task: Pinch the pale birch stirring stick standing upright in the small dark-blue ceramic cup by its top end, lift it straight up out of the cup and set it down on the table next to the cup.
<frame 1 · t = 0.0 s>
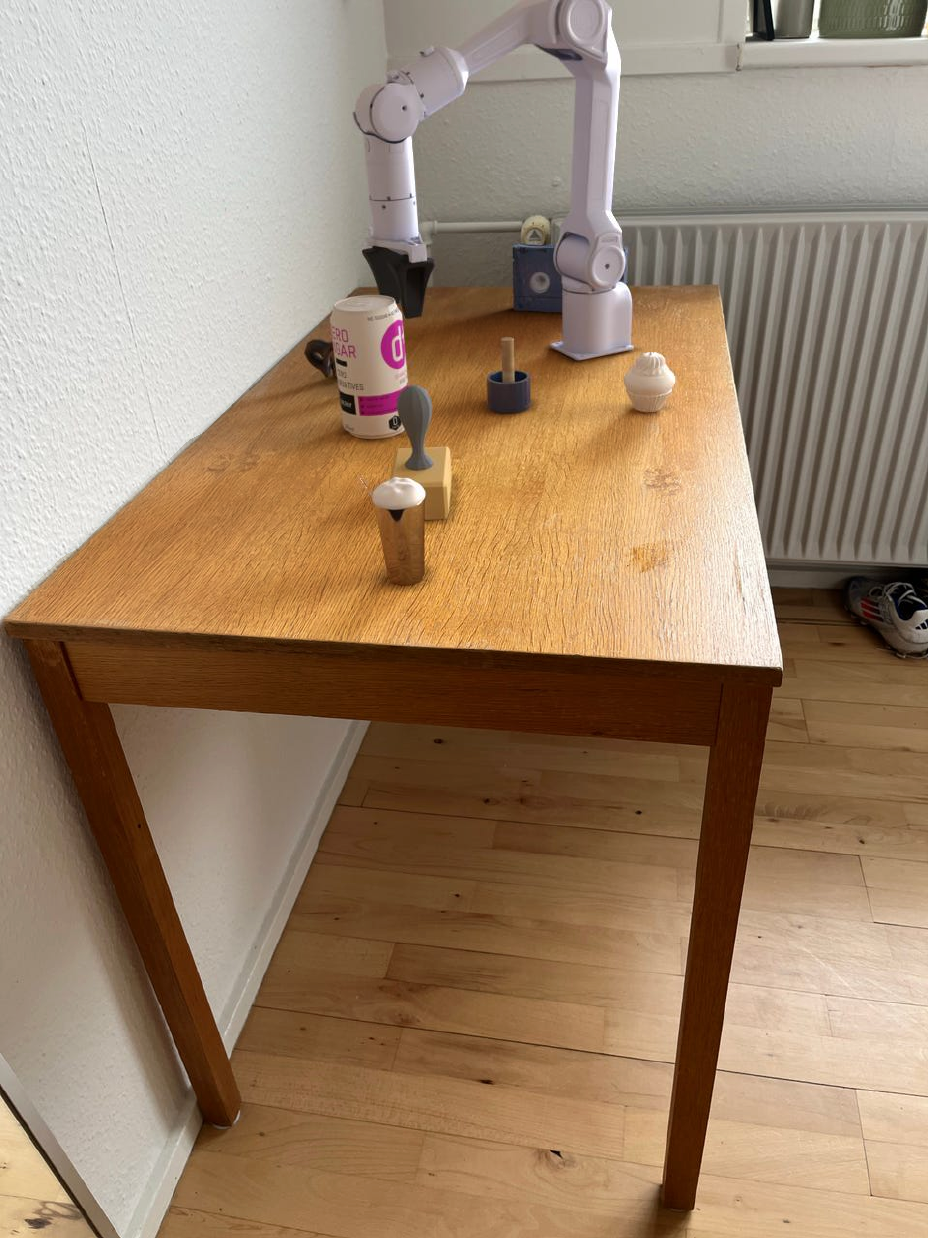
hand: (402, 310, 123), 10 cm above the table, tool pointing down, fingers open, 7 cm apart
vhs cassette tape: (568, 311, 156), on the table
rubber stamp: (422, 499, 99), on the table
muffin: (647, 409, 117), on the table
milkshake: (402, 578, 86), on the table
stirrer: (508, 371, 118), in the cup
cup: (509, 405, 120), on the table, touching stirrer
supplement can: (378, 429, 116), on the table
pottery mug: (351, 383, 131), on the table
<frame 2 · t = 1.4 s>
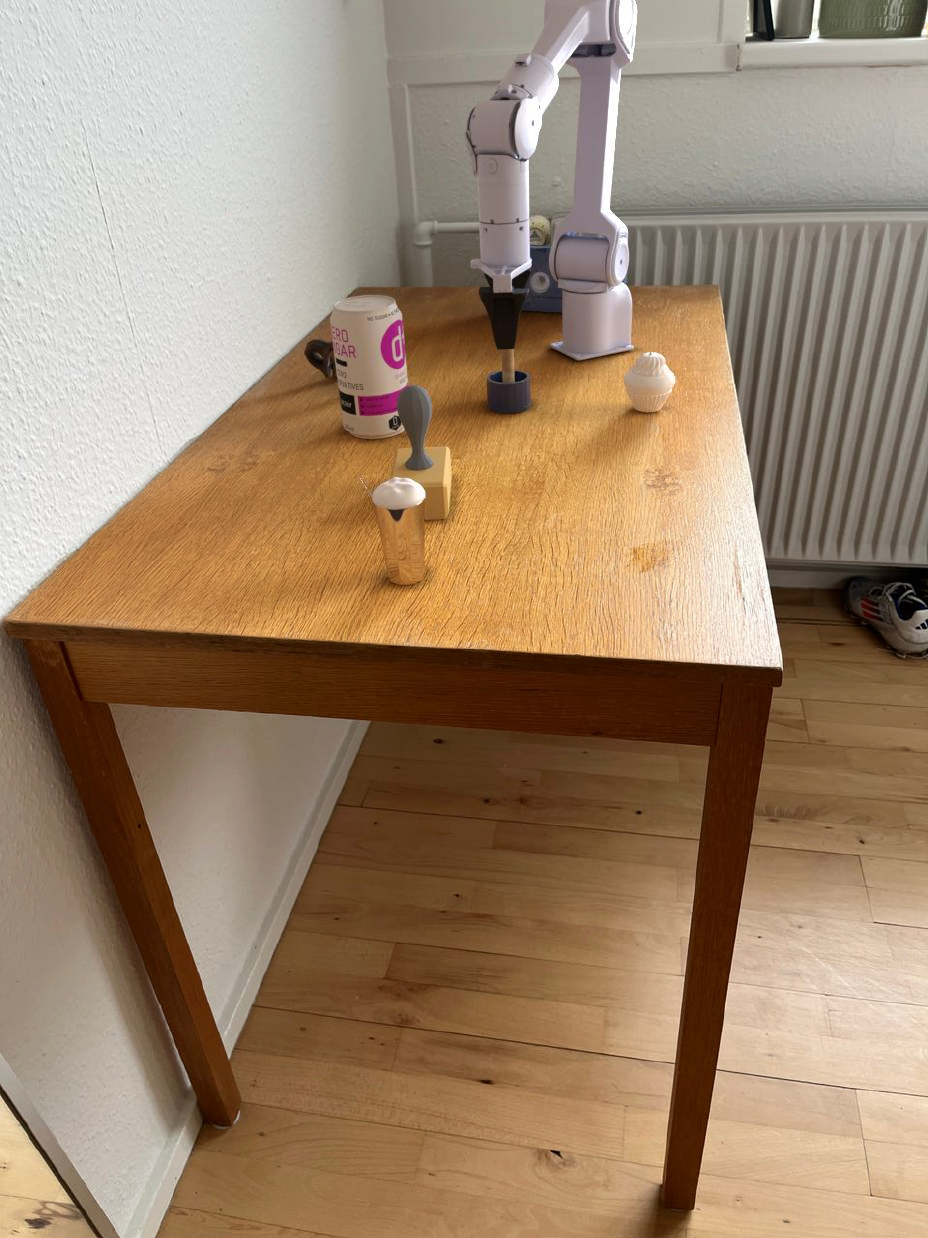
hand: (507, 338, 116), 8 cm above the table, tool pointing down, fingers open, 7 cm apart
nothing on the table moved.
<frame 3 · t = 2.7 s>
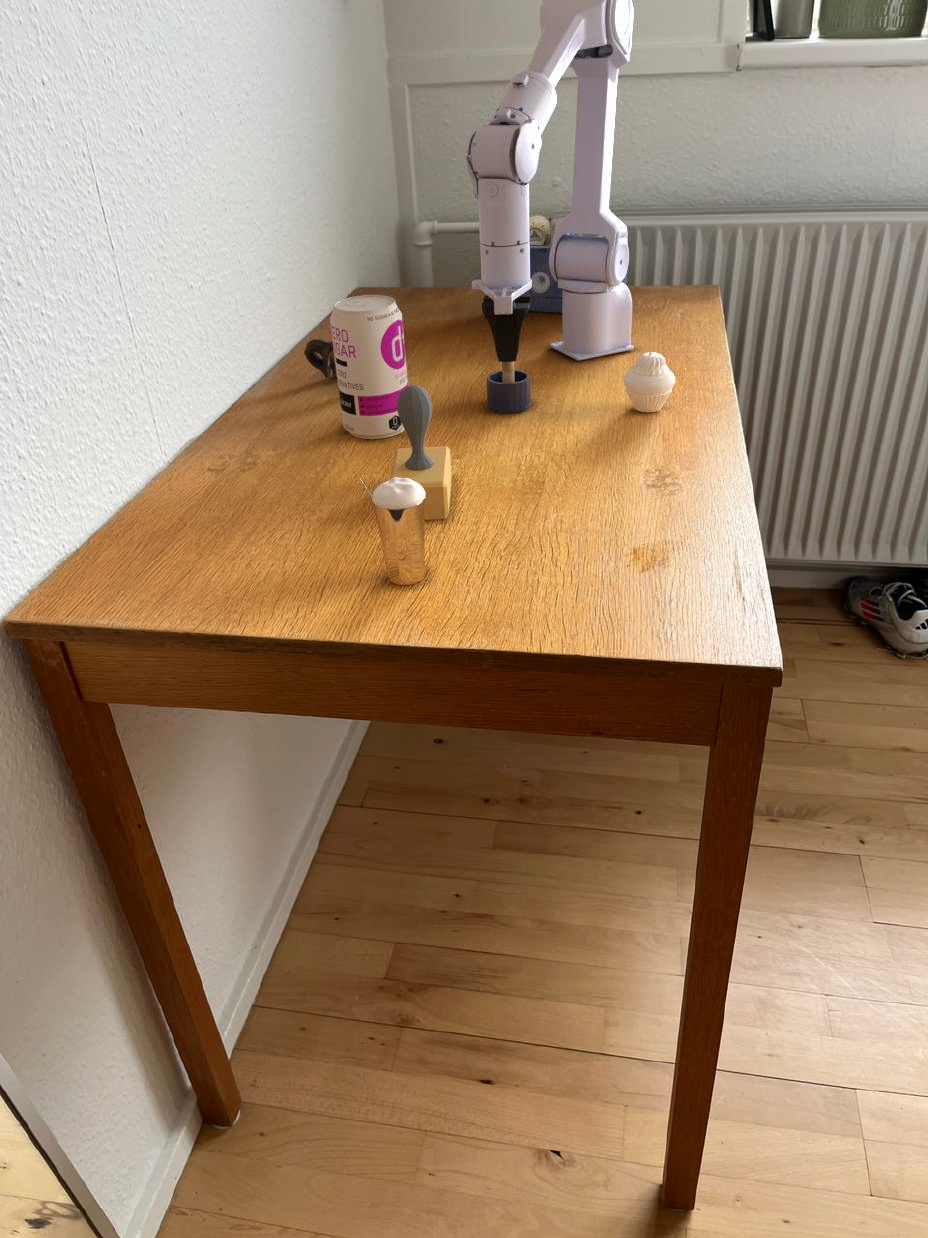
hand: (507, 358, 117), 6 cm above the table, tool pointing down, fingers closed on stirrer
stirrer: (508, 371, 118), in the cup, touching gripper
everything else where it was.
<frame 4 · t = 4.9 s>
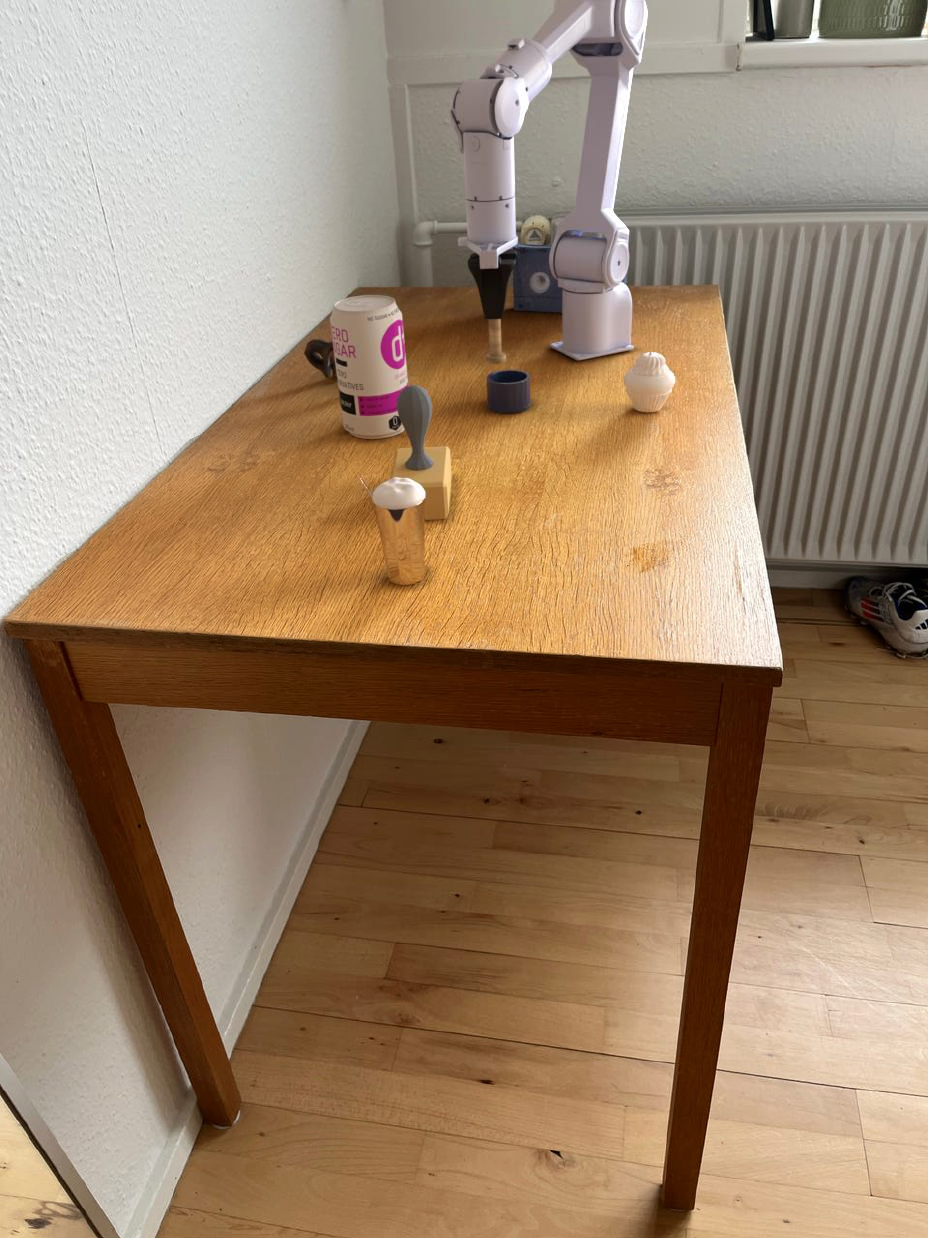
hand: (494, 315, 118), 10 cm above the table, tool pointing down, fingers closed on stirrer
stirrer: (494, 329, 118), point 9 cm above the table, touching gripper
cup: (509, 405, 120), on the table
everything else where it was.
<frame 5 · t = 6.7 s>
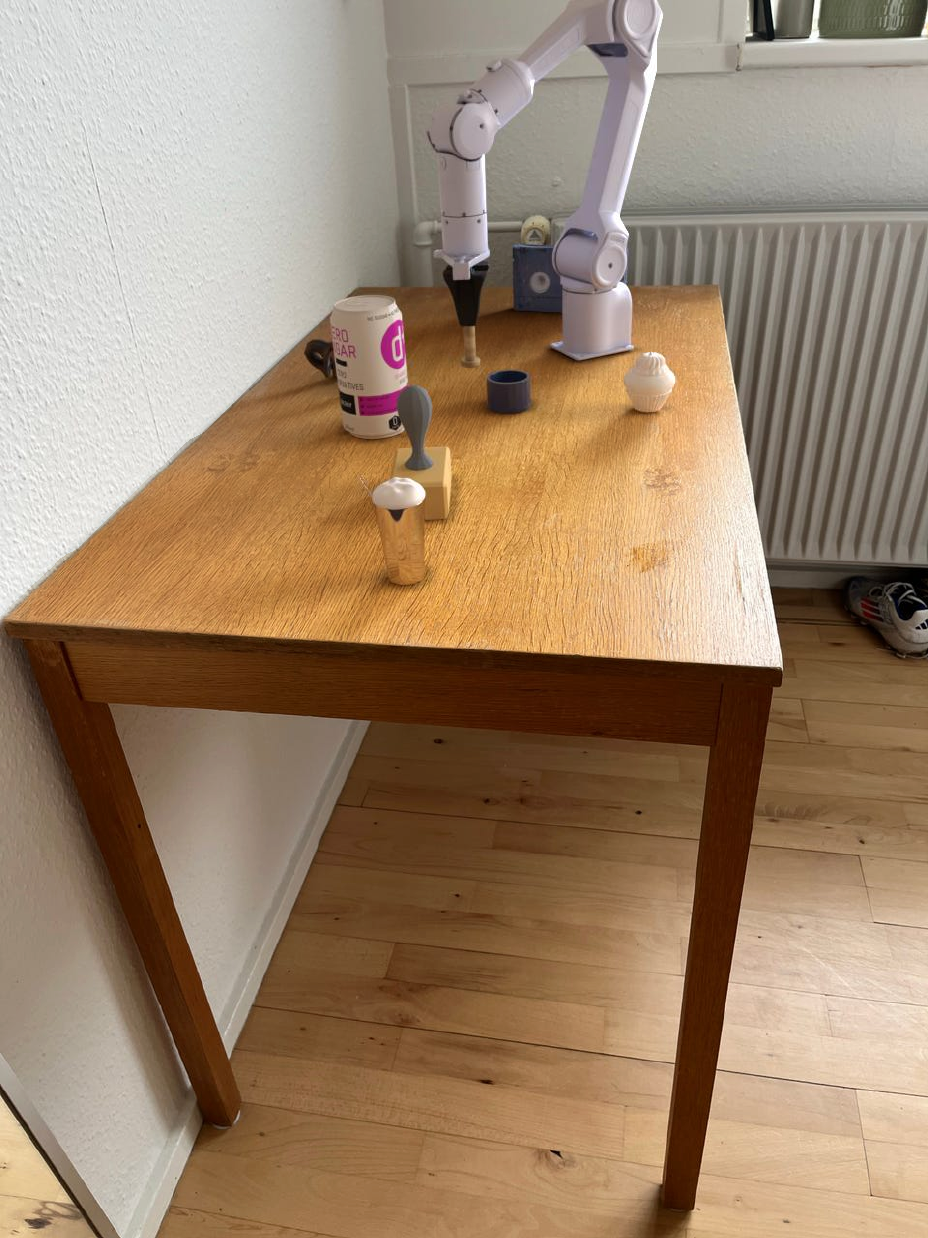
hand: (468, 323, 126), 8 cm above the table, tool pointing down, fingers closed on stirrer
stirrer: (469, 335, 126), point 6 cm above the table, touching gripper
everything else where it was.
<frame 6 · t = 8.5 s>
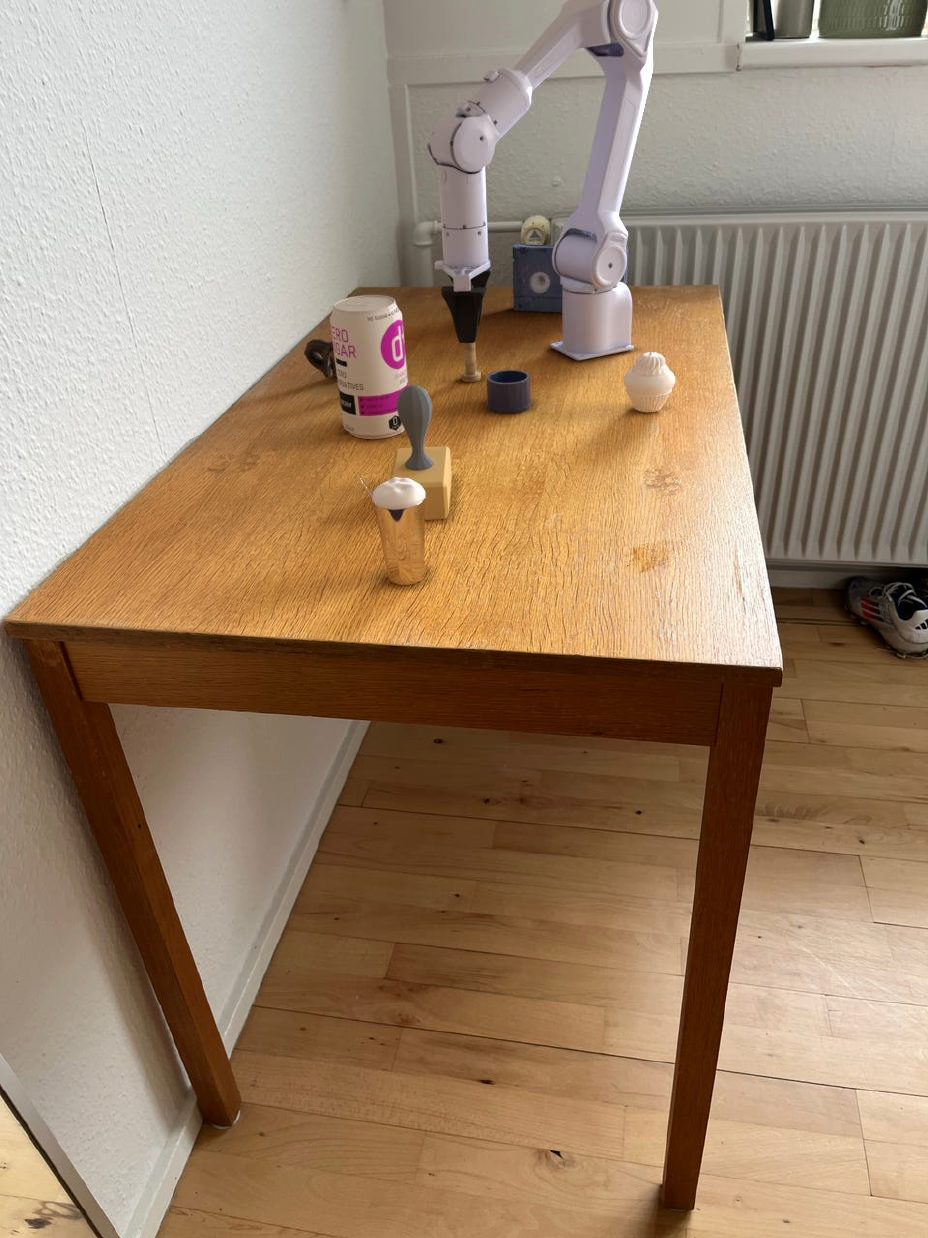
hand: (469, 333, 126), 6 cm above the table, tool pointing down, fingers open, 7 cm apart
stirrer: (469, 349, 128), on the table
everything else where it was.
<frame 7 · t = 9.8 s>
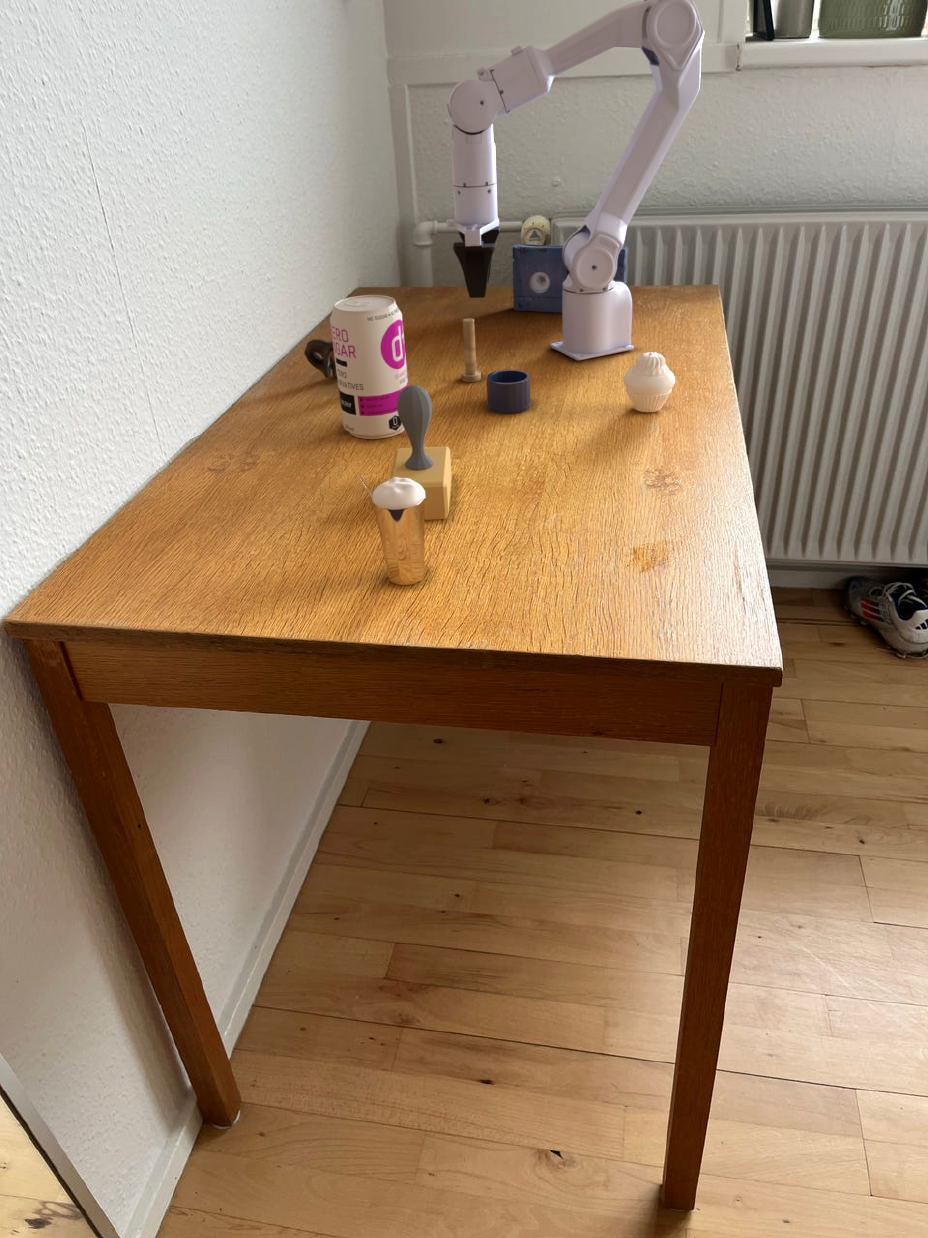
hand: (479, 289, 133), 9 cm above the table, tool pointing down, fingers open, 7 cm apart
nothing on the table moved.
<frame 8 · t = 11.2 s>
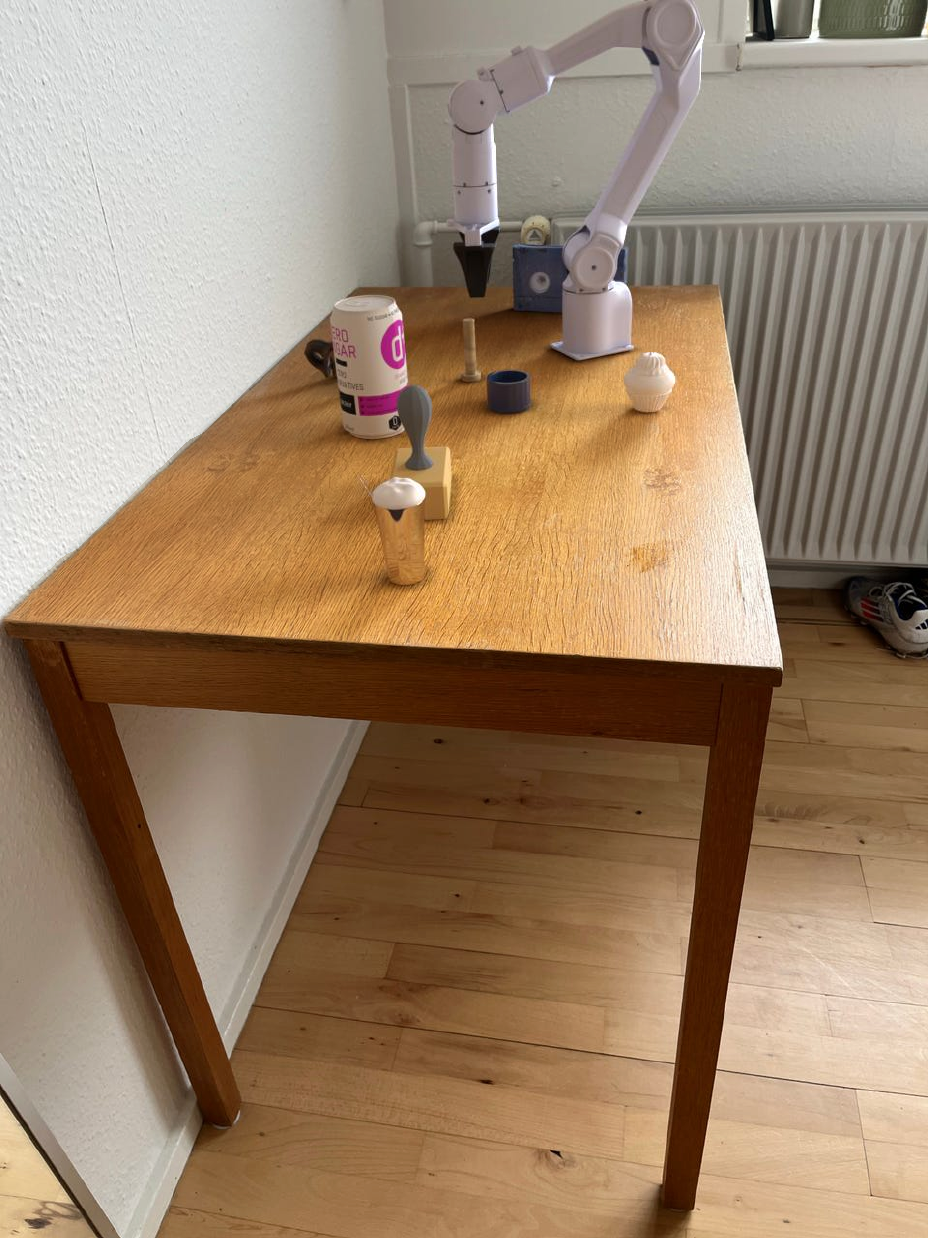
hand: (479, 289, 133), 9 cm above the table, tool pointing down, fingers open, 7 cm apart
nothing on the table moved.
at the end: stirrer inside the target area (0.1 cm from its centre), on the table; stirrer touching table; cup tilted 0° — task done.
